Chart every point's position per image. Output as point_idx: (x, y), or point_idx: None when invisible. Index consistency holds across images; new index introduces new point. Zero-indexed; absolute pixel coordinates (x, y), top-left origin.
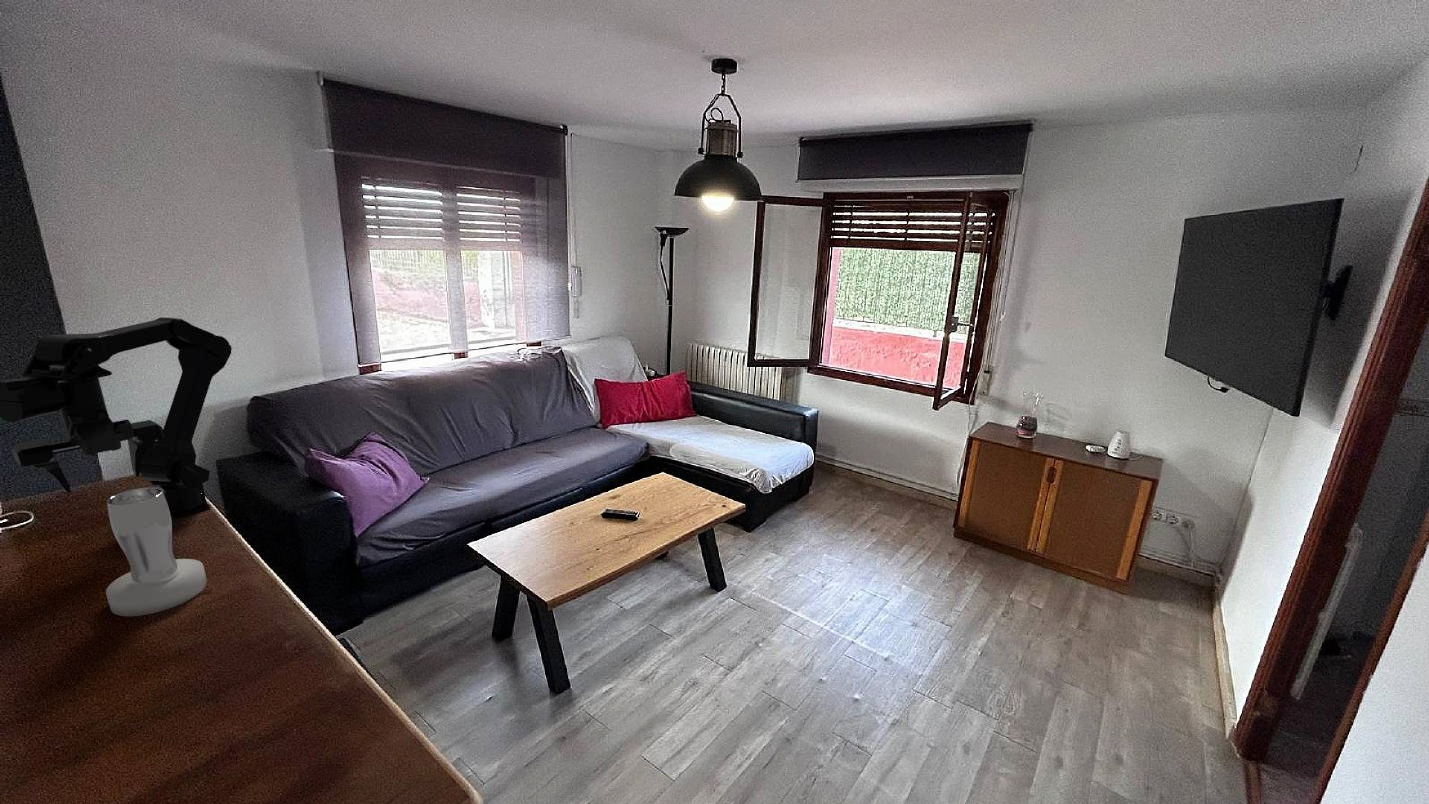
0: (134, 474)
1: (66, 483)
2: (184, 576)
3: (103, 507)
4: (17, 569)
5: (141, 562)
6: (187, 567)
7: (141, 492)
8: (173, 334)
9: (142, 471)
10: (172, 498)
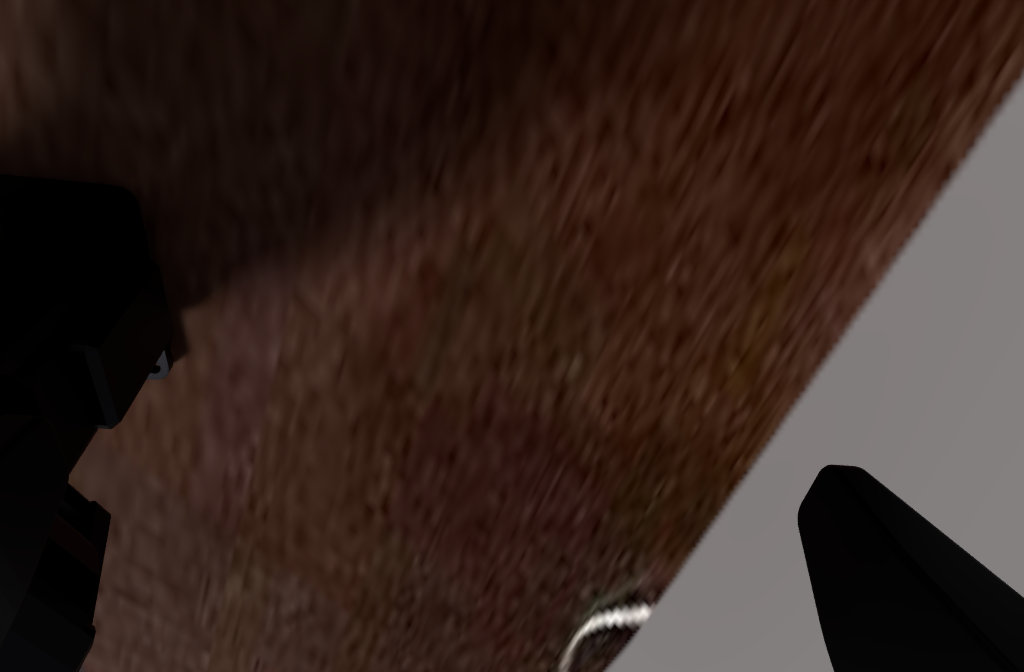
0: (54, 493)
1: (961, 597)
2: None
3: (382, 574)
4: (919, 198)
5: None
6: None
7: None
8: None
9: (52, 620)
10: (36, 310)
